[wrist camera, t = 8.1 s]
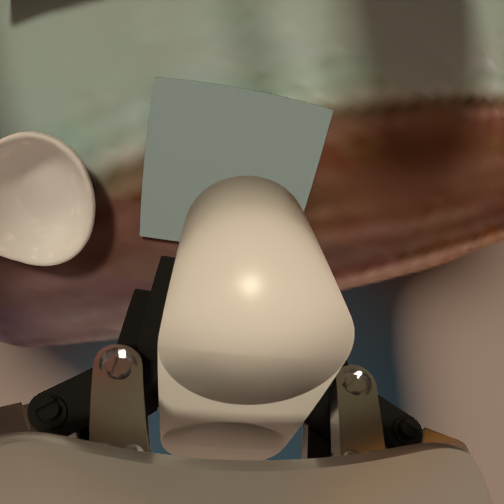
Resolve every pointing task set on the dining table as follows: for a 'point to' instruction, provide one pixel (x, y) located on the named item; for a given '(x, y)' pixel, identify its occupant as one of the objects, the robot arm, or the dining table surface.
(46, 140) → the spoon rest
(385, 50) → the dining table surface
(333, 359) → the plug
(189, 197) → the pad
